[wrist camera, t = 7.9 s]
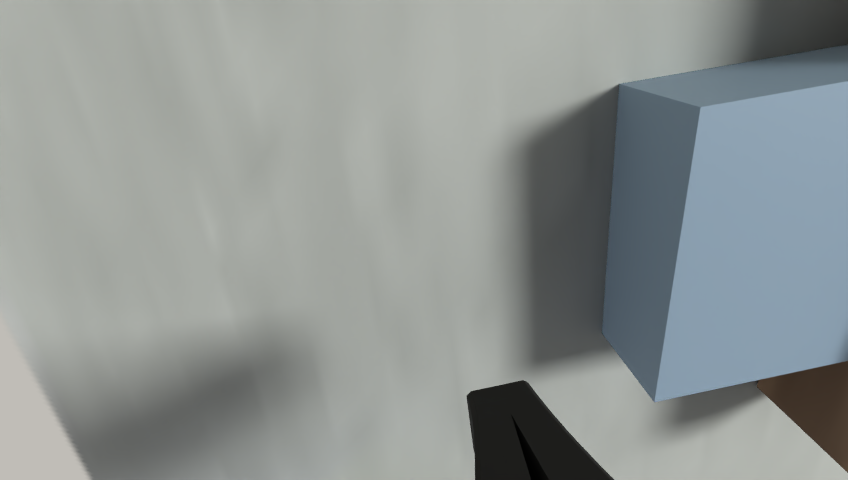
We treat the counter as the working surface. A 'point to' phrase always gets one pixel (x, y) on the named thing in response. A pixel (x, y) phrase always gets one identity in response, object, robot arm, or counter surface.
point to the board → (816, 405)
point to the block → (730, 223)
